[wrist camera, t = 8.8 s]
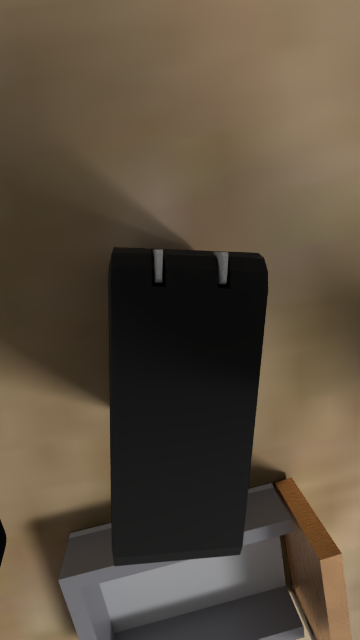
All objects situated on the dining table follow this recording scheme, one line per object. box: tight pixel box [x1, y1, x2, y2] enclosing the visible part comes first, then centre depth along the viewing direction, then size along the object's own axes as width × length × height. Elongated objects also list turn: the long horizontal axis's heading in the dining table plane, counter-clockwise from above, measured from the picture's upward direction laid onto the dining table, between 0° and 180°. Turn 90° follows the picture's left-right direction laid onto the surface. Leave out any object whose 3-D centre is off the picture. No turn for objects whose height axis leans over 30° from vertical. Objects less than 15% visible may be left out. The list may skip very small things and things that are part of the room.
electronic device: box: [108, 247, 268, 566], centre depth 13 cm, size 4×10×10 cm, turn 178°
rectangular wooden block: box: [275, 478, 352, 640], centre depth 20 cm, size 11×2×6 cm, turn 12°
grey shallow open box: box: [58, 483, 304, 640], centre depth 21 cm, size 14×10×3 cm
